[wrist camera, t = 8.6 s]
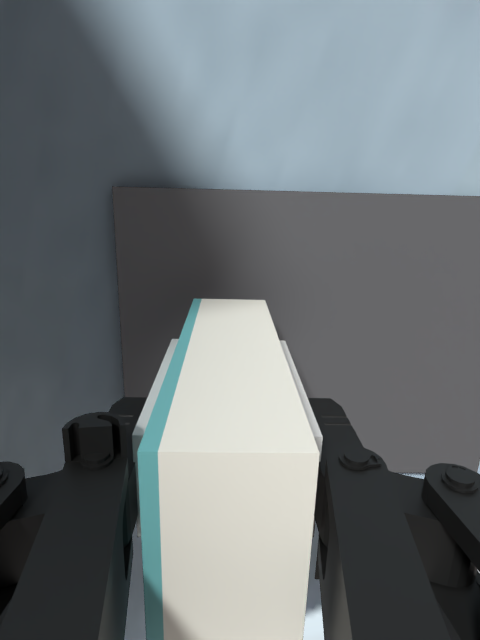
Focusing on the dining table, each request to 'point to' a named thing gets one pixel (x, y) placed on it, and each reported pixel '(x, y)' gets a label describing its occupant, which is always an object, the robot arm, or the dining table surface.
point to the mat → (323, 300)
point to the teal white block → (227, 484)
